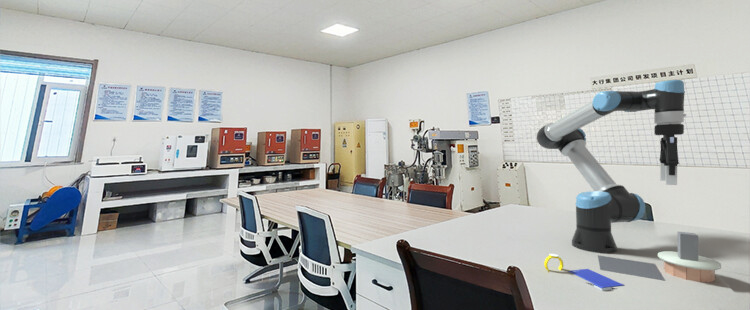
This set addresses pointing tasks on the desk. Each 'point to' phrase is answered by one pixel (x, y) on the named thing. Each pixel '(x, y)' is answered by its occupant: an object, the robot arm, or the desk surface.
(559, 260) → the yellow curved ring
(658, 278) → the mat
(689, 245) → the lid
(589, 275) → the hard drive
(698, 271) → the bowl
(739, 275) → the desk surface
